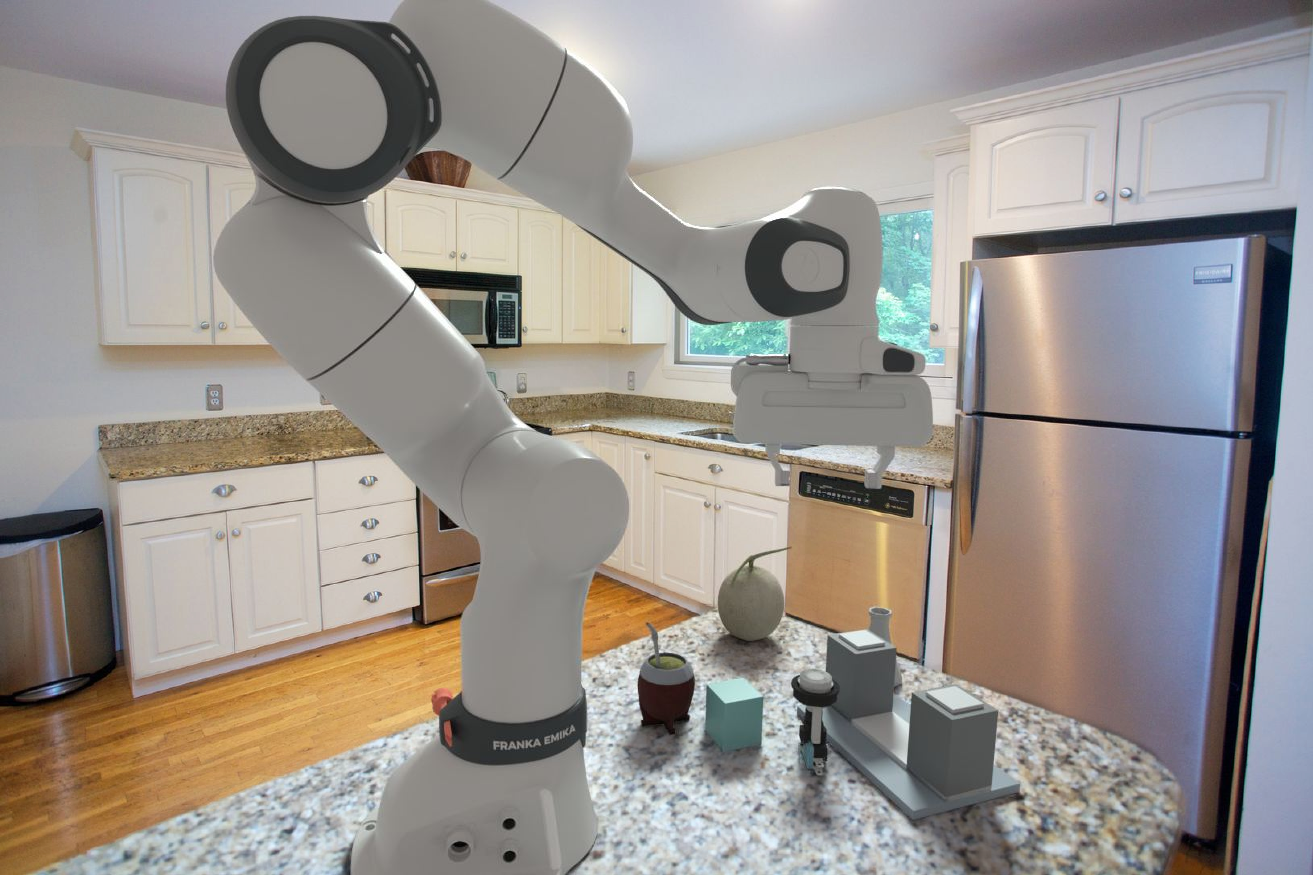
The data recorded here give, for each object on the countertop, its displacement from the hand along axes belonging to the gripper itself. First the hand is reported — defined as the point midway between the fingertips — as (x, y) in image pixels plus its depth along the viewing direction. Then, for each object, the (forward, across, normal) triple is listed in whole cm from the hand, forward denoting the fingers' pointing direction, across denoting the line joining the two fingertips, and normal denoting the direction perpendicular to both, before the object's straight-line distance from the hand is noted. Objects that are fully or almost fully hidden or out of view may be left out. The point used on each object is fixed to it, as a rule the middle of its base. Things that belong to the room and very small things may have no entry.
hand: (827, 486), depth 77 cm
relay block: (+26, -9, +5) cm, 28 cm away
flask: (+33, +12, +23) cm, 42 cm away
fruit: (+32, -6, +35) cm, 48 cm away
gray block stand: (+32, +10, +5) cm, 34 cm away
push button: (+32, 0, +1) cm, 32 cm away
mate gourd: (+32, -17, +7) cm, 37 cm away
